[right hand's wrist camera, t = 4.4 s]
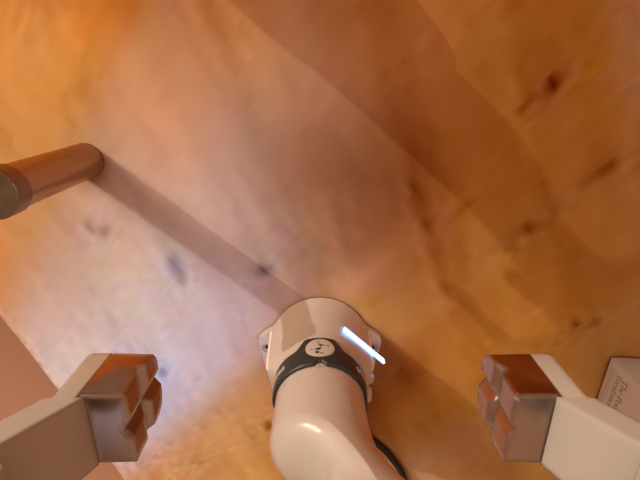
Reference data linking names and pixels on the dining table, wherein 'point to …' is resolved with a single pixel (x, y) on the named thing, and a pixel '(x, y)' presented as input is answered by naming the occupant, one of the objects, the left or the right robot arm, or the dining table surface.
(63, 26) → the dining table surface
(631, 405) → the skincare box
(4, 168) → the lid
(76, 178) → the brown cylinder
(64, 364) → the dining table surface
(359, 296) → the dining table surface
